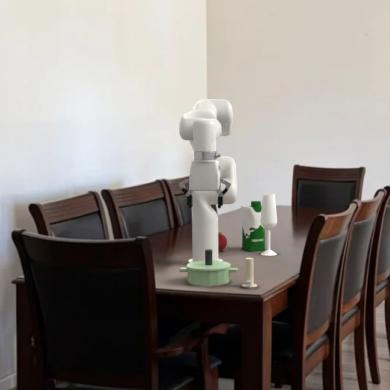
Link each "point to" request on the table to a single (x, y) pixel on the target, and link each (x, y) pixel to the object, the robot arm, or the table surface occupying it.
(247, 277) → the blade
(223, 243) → the onion
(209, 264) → the lid
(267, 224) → the champagne flute
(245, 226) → the milk carton
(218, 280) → the pot
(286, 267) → the table surface
